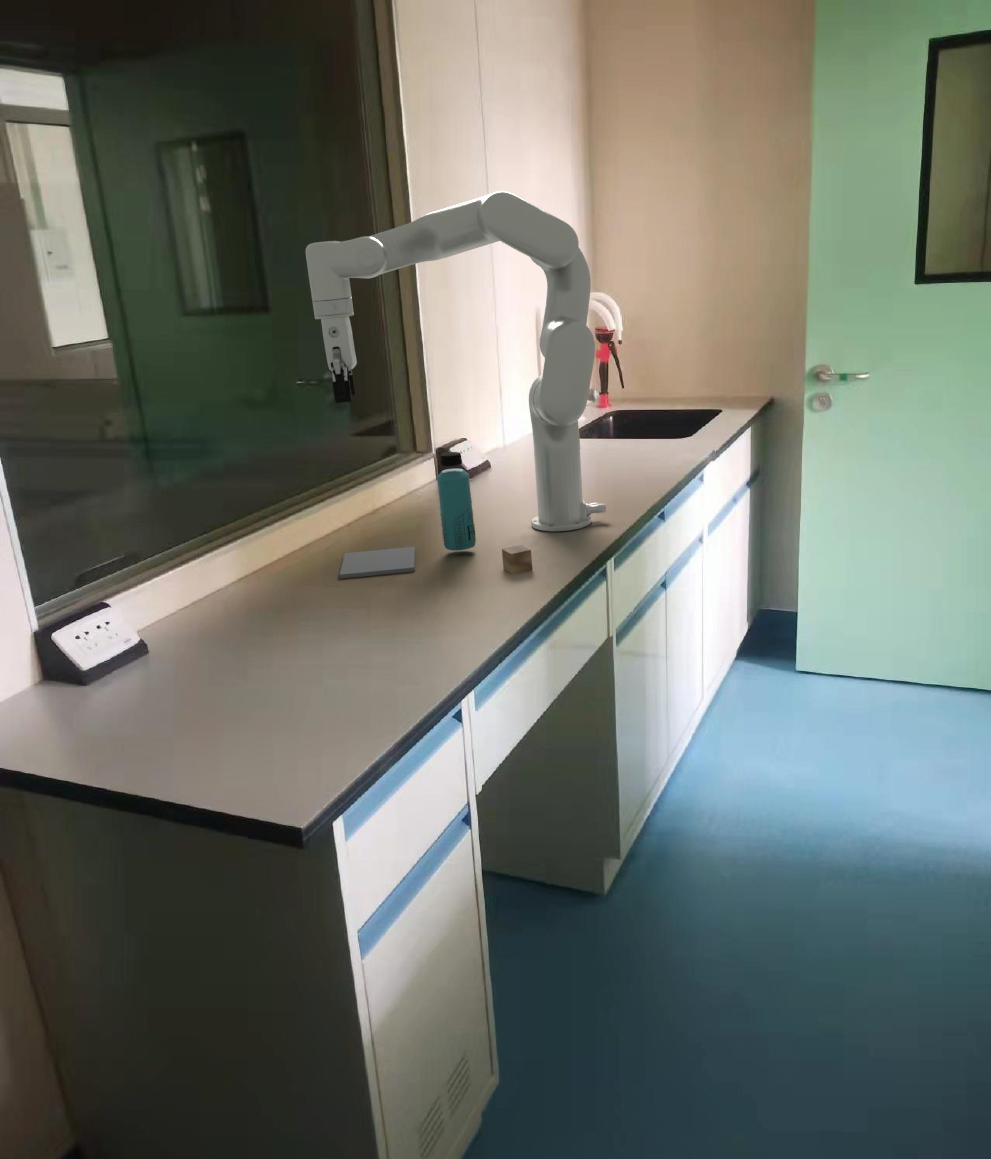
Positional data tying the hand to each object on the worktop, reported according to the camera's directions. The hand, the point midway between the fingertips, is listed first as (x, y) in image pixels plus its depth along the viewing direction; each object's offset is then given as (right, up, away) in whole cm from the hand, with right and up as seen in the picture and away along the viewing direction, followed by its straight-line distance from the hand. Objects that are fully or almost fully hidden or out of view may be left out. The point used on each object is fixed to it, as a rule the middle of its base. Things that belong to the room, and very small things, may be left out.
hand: (345, 398), depth 195 cm
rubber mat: (+7, -33, -3) cm, 34 cm away
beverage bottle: (+23, -31, -1) cm, 38 cm away
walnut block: (+34, -34, -14) cm, 50 cm away
